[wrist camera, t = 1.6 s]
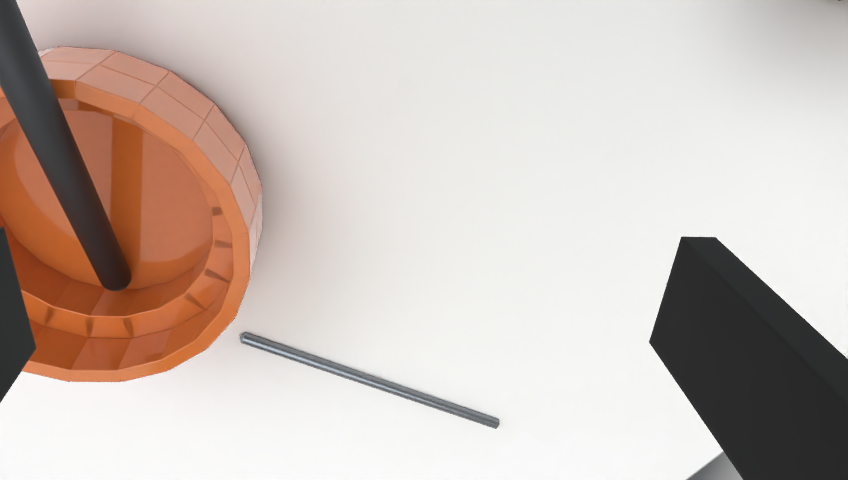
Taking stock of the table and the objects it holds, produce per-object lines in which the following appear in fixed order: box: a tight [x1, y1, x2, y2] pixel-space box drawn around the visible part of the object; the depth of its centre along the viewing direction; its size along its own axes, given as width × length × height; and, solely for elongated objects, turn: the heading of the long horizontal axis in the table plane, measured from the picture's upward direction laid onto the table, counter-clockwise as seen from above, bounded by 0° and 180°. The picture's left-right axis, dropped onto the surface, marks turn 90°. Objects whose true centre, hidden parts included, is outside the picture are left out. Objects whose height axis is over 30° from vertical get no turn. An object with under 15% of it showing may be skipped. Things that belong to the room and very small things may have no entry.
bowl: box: [0, 46, 263, 382], centre depth 31 cm, size 16×16×6 cm
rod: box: [240, 332, 499, 429], centre depth 42 cm, size 1×19×1 cm, turn 61°
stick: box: [0, 0, 132, 291], centre depth 26 cm, size 20×2×10 cm, turn 174°
